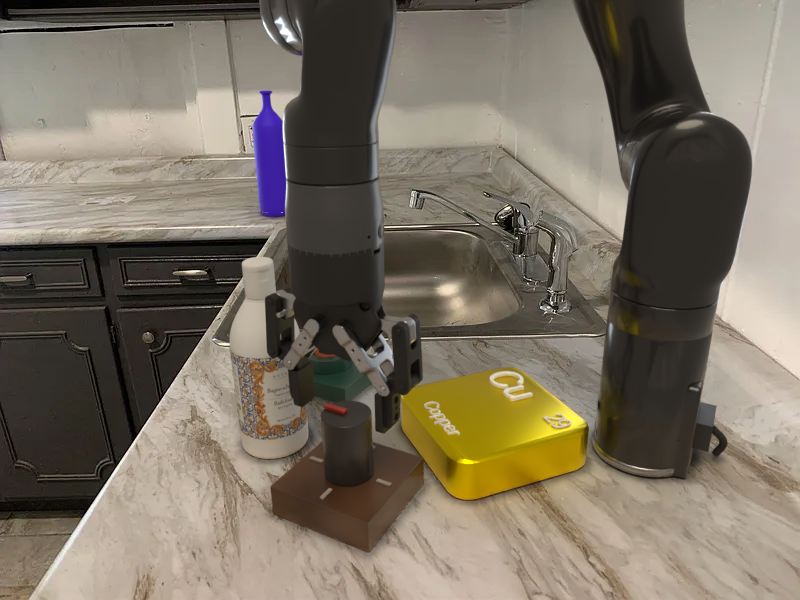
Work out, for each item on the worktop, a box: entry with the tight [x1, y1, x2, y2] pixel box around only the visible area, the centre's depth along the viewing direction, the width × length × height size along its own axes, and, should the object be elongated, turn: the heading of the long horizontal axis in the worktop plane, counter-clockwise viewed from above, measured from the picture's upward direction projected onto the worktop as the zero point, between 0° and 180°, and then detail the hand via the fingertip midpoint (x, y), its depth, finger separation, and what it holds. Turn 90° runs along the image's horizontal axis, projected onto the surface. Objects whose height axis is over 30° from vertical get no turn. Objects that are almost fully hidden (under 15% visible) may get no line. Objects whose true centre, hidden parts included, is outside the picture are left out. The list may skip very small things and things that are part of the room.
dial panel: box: [269, 441, 425, 553], centre depth 57 cm, size 10×10×3 cm
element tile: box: [400, 366, 590, 501], centre depth 65 cm, size 15×15×5 cm
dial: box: [320, 400, 374, 486], centre depth 56 cm, size 4×4×6 cm
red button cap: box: [314, 349, 335, 357], centre depth 78 cm, size 3×3×2 cm
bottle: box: [252, 90, 287, 218], centre depth 157 cm, size 8×8×30 cm
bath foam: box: [229, 256, 310, 460], centre depth 63 cm, size 7×7×20 cm
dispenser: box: [308, 353, 385, 403], centre depth 79 cm, size 11×9×4 cm
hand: (343, 415), depth 55 cm, fingers open, 8 cm apart
